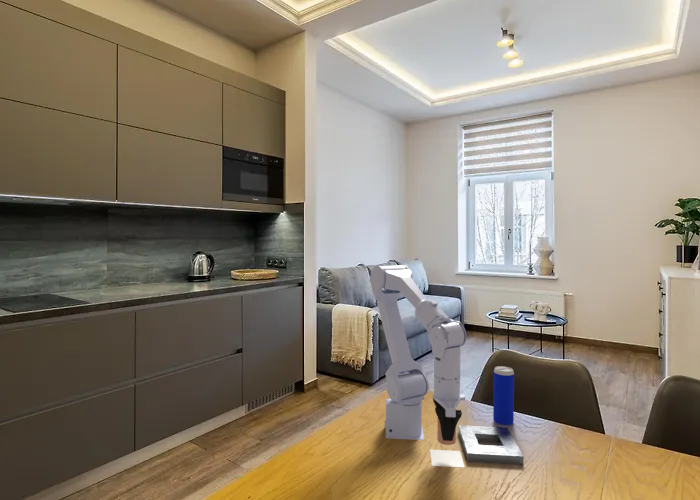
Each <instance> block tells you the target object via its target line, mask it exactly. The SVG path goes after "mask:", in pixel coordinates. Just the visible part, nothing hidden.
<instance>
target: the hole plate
mask: <svg viewBox="0 0 700 500" xmlns="http://www.w3.org/2000/svg"><path fill="white" fill-rule="evenodd" d="M458 435H459V439H460V442H461V444H462V448H463V452H464V455H465V458H466V461H467V463H481V464H498V465H499V464H500V465H514V466H524V465H525V463H524V460H525V459H524V455H523V453H522V451H521V449H520V447H519V446H518V443H517V442H516V440H515V439H514V436H512V433H511V431H510V430H509V428H508V427H507V426H488V425H487V426H482V425H481V426H480V425H465V424H464V425H463V424H462V425H461V424H458ZM479 442H480V443H497V444H498V445H494V444H493V445H489V444H487V445H486V444H479Z"/></svg>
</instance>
